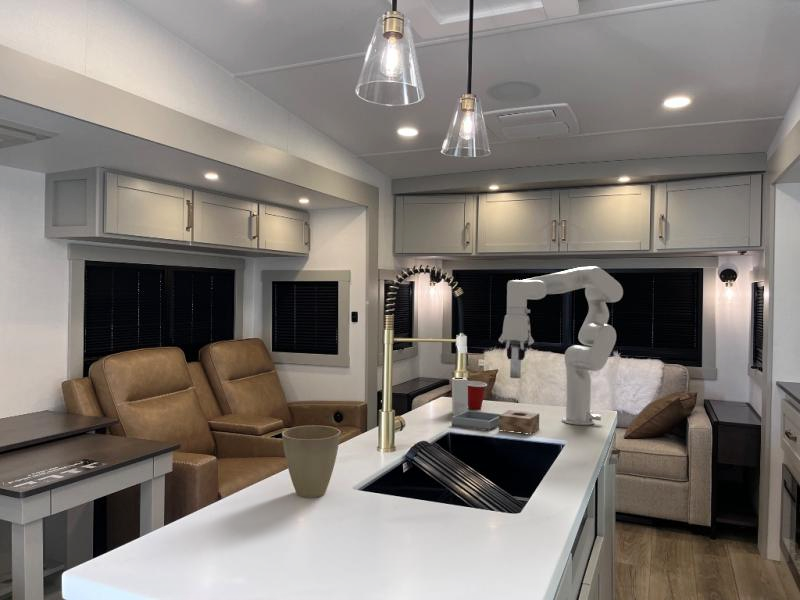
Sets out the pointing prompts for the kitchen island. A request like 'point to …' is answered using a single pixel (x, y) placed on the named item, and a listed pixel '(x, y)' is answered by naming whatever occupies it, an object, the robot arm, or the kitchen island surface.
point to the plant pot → (310, 457)
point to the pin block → (519, 421)
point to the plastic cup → (475, 394)
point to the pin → (515, 359)
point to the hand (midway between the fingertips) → (515, 358)
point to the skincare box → (459, 395)
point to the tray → (476, 420)
